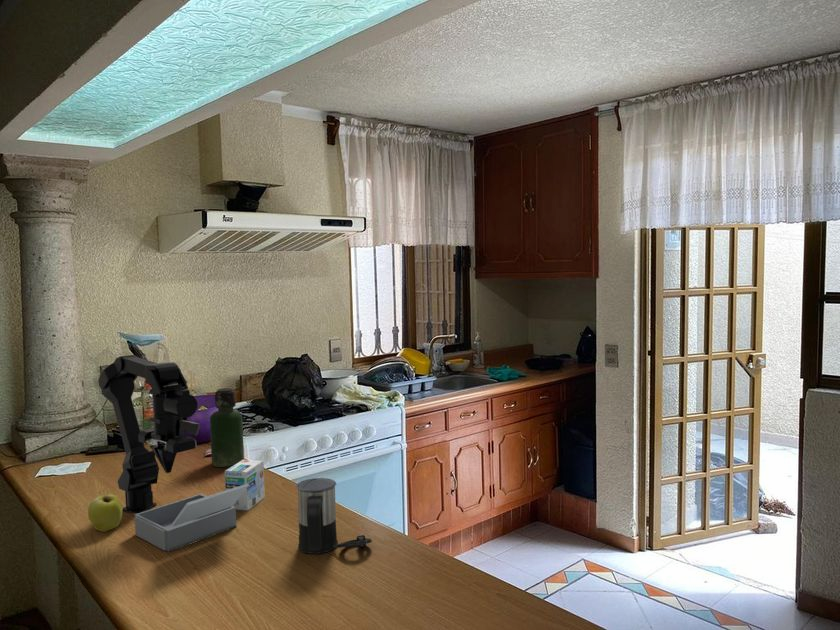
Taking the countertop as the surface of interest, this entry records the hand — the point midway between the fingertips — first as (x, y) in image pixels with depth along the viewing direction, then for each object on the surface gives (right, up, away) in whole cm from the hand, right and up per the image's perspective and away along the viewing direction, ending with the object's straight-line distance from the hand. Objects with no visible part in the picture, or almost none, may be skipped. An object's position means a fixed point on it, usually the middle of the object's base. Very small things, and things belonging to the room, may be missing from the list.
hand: (168, 472), depth 162 cm
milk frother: (+45, -14, -16) cm, 49 cm away
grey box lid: (+12, -8, -10) cm, 18 cm away
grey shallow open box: (+6, -13, -5) cm, 16 cm away
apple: (-14, -14, -3) cm, 20 cm away
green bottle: (0, -10, +50) cm, 51 cm away
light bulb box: (+16, -12, +13) cm, 24 cm away
